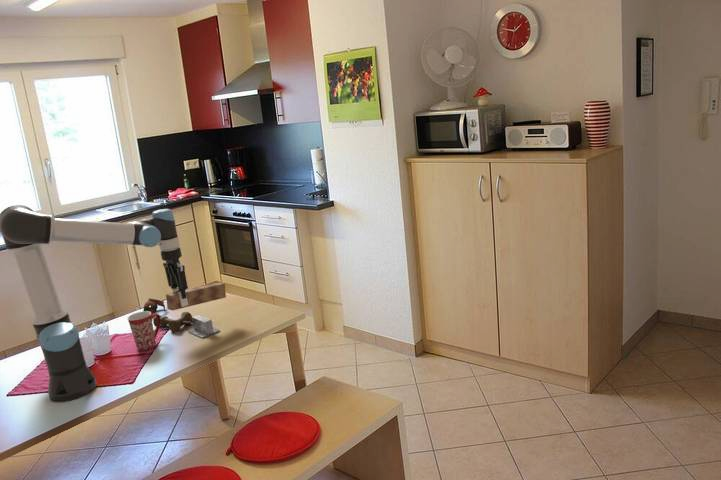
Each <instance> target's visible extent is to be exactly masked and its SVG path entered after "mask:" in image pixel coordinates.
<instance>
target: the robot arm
mask: <svg viewBox="0 0 721 480" xmlns="http://www.w3.org/2000/svg"><path fill="white" fill-rule="evenodd" d="M0 233H1V235H2V239H3V242H4V244H5V248H6V249H7V251H9V252H12V253H13V255H14V257H15V261H16V263H17V267H18V269H19V272H20V276H21V279H22V281H23V284H24V287H25V290H26V293H27V296H28V298H29V303H30V305H31V309H32V310H33V313H34V318H33V320H32V321H31V323H32V326H33V329H34V332H35V335H36V336H35V337H36V340H37V342H38V344H39V346H40V349H41V350H42V354H43V358H44V361H45V364H46V368H47V372H48V375H49V379H48V388H47V394H48V397H49V398H48V399H49V400H50V401H52V402H55V403H61V402H67V401H72V400H75V399H78V398H79V399H80V398H82V397H83V396H85V395H87V394H89V393H91V392H92V391H94V389H95V388H96V387H97V385H98V383H97V380H96V377H95V376H94V374H93V372H92V371H91V370H90V368H89V367H88V365H87V362H86V359H85V356H84V355H85V354H84V351H83V348H82V344H81V339H80V332H79V330H78V328H77V326H76V325H75V324H73V323H72V321H71V318H70V314H69V312H68V310H66V309H64V308H63V307H62V306H61V302H60V299H59V297H58V293H57V290H56V288H55V287H56V286H55V284H54V281H53V278H52V276H51V272H50V269H49V265H48V263H47V260H46V257H45V253H44V250H43V247H42V245H43V244H44V245H45V244H46V245H49V244H51V243H52V242H64V243H65V242H66V243H67V242H68V243H85V244H86V243H89V244H105V245H106V244H111V245H129V246H131V245H132V246H143V247H145V248H154V247H156V246H157V245H158V246H159V250H160V257H161V260H162V261H164V263H162V265H163V268H164V271H165V276H166V279H167V284H168V287H169V288H171V289H172V293H173V292H178V294H179V298H180V303H181V307H184V306H187V305H188V301H187V296H186V291H185V290H187V289H189V286H188V281H187V277H186V270H185V268H186V267H185V265H183V264H181V261H180V258H182V250H181V249H182V248H181V247H180V240H179V236H178V232H177V226H176V220H175V216H174V213H173V210H172V209H170V208H163V209H157V210H153V211H152V216H151V217H149V218H145V219H144V218H143V219H139V220H134V221H129V222H111V221H99V220H86V219H84V220H83V219H71V218H56V217H54V216H53V215H52V214H44V213H38V212H35V211H34V210H33V209H32V208H30V207H29V206H26V205H22V204H15V205H10V206H8V207H6V208H4V209H3V210H2V211H1V212H0Z"/></svg>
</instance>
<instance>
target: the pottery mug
mask: <svg viewBox="0 0 721 480" xmlns="http://www.w3.org/2000/svg"><path fill="white" fill-rule="evenodd" d="M158 307H162V308H163V312H164V311H166V305H165V301H164V300H160V299H155V298H152V297H151V298H150V297H149V298H148V300H147V301H145V302H144V306H143V310H142V311H149V312H151V315H152V314H154V313H156V314H157V311H158Z"/></svg>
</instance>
